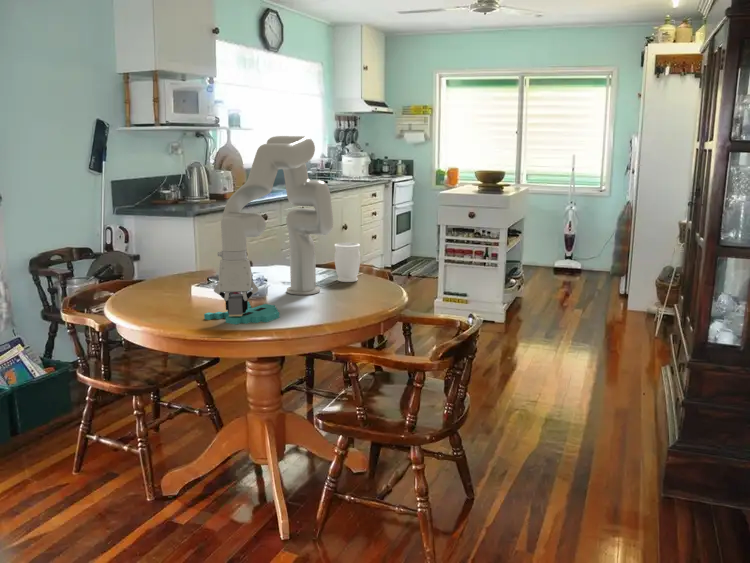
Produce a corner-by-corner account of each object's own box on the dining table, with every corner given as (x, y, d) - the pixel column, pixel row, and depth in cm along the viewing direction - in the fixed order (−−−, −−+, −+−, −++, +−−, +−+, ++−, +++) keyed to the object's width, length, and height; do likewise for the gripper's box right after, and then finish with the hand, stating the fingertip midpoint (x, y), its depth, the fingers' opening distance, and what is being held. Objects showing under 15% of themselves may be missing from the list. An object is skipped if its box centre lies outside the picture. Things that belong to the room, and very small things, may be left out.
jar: (365, 279, 281) (365, 243, 277) (350, 284, 272) (350, 247, 269) (344, 276, 286) (344, 241, 283) (329, 281, 278) (329, 244, 275)
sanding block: (232, 310, 221) (231, 294, 220) (244, 310, 221) (244, 294, 220) (229, 316, 214) (228, 299, 213) (241, 316, 214) (241, 299, 213)
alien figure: (204, 320, 220) (253, 328, 211) (204, 313, 220) (253, 321, 210) (244, 307, 237) (291, 314, 228) (244, 301, 237) (291, 307, 227)
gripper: (205, 257, 210) (208, 315, 214) (260, 257, 210) (262, 314, 214) (209, 253, 217) (212, 309, 221) (262, 253, 218) (264, 308, 222)
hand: (237, 311), depth 218 cm, fingers closed on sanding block, 4 cm apart
